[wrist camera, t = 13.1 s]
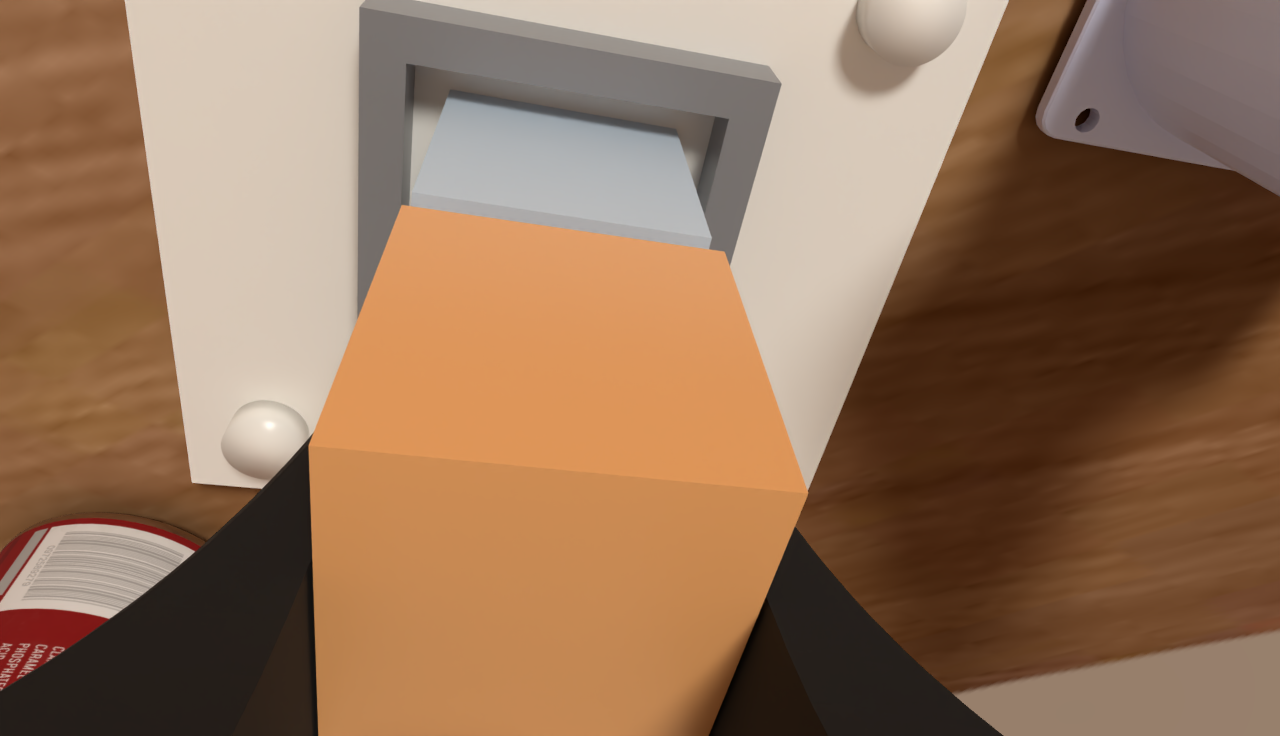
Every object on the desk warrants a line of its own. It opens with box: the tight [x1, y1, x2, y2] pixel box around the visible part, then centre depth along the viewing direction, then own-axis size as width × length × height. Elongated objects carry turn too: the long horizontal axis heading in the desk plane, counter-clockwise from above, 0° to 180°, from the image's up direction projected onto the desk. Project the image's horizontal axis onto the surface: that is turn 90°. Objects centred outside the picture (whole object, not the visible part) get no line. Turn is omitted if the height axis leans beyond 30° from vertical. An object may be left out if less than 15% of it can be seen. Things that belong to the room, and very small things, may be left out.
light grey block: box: [411, 89, 712, 249], centre depth 16 cm, size 4×6×5 cm
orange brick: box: [309, 205, 808, 736], centre depth 11 cm, size 4×6×5 cm
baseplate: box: [125, 0, 1009, 491], centre depth 18 cm, size 16×16×2 cm
